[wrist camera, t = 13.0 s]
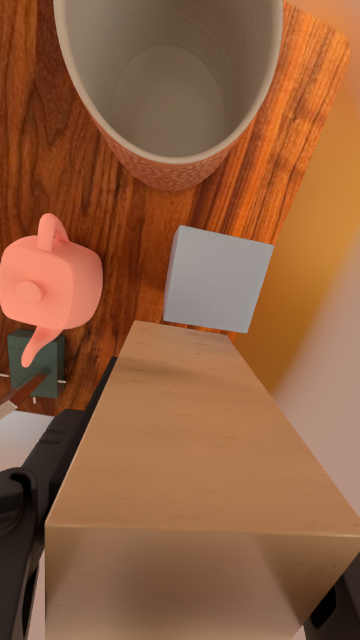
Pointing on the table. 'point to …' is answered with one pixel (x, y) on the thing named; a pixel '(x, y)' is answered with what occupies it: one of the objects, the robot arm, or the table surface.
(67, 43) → the planter
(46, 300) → the teapot
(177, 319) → the stand
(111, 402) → the block
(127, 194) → the table surface
